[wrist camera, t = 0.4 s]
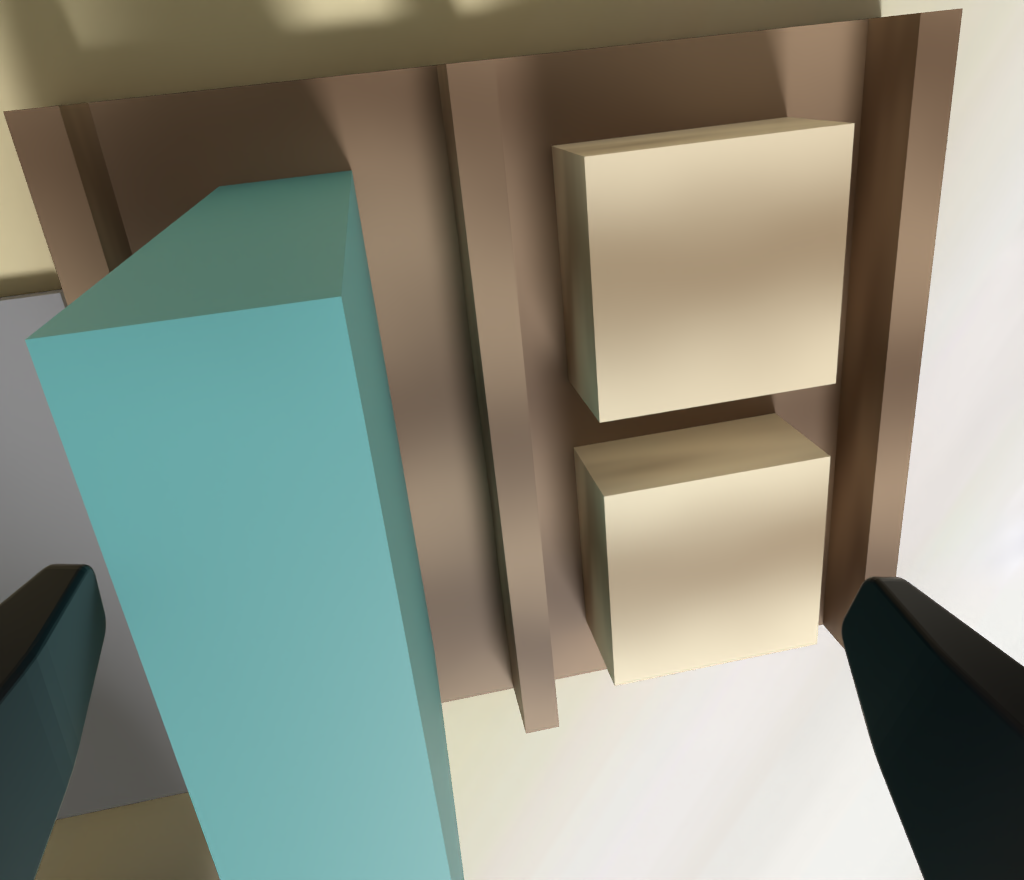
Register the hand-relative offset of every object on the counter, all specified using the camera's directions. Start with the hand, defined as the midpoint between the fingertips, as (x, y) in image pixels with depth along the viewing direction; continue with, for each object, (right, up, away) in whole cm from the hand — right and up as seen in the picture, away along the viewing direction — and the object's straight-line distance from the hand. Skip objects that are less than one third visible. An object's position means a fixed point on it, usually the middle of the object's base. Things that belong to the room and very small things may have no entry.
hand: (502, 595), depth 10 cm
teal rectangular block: (-4, +2, +12) cm, 13 cm away
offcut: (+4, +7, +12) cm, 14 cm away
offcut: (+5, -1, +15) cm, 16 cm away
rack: (+1, +3, +14) cm, 14 cm away
